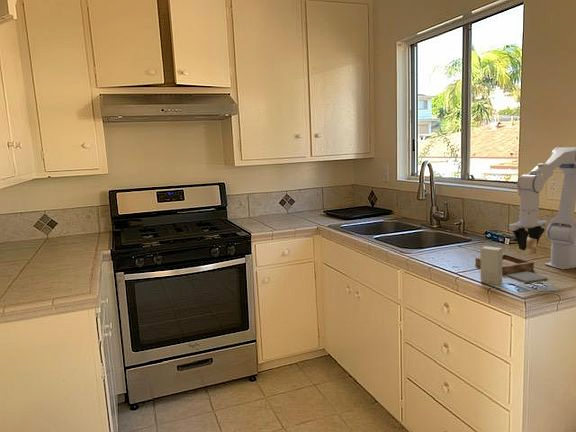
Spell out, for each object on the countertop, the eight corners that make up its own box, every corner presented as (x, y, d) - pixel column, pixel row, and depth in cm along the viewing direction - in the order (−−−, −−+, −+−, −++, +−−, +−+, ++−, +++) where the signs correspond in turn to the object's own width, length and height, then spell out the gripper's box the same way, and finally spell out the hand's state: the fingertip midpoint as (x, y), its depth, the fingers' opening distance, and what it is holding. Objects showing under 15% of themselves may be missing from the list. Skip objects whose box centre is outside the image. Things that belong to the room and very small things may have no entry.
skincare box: (502, 282, 154) (503, 247, 152) (498, 285, 151) (499, 250, 149) (484, 279, 158) (485, 245, 156) (479, 282, 155) (480, 248, 153)
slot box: (505, 261, 179) (505, 253, 178) (533, 270, 165) (533, 262, 165) (475, 265, 175) (475, 258, 174) (501, 275, 162) (502, 267, 161)
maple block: (526, 251, 159) (527, 237, 158) (536, 253, 155) (536, 239, 154) (517, 252, 157) (518, 238, 157) (526, 254, 154) (527, 240, 153)
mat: (526, 272, 163) (526, 271, 163) (547, 279, 154) (547, 278, 154) (506, 276, 160) (506, 274, 160) (526, 283, 152) (526, 281, 152)
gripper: (536, 206, 159) (535, 244, 161) (502, 210, 155) (501, 248, 157) (553, 209, 153) (551, 248, 155) (518, 212, 149) (517, 253, 151)
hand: (527, 248), depth 156 cm, fingers closed on maple block, 4 cm apart
